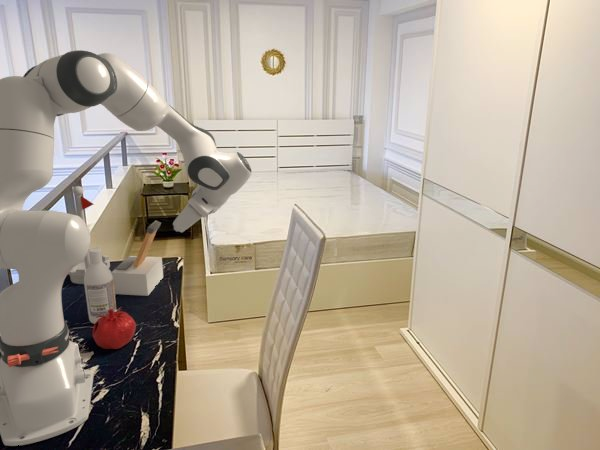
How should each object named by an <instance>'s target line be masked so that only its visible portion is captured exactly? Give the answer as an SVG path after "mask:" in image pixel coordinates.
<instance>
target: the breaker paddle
mask: <svg viewBox="0 0 600 450" xmlns="http://www.w3.org/2000/svg"><path fill="white" fill-rule="evenodd" d="M161 224H162V222H160V221H158V220H154V222H152V223H151V224H149V226H147V228H146V231H145V232H146V233H145V236H144V238H143V241H142V244H141V246H140V249H139V250H138V254H137V255H136V256H137V258H136V261H135V263H134V265H133V266H134V267H136V268H137V267H138V266H139V265H140V264H141V263H142V262H143V261H144V260H145V258H146V257H148V256H147V255H148V254H149V251H150V248H151V245H152V244H153V240H155V239H154V238H155V236H156V233H157V231H158V229H160V227H161Z"/></svg>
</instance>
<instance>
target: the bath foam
mask: <svg viewBox="0 0 600 450" xmlns="http://www.w3.org/2000/svg"><path fill="white" fill-rule="evenodd" d="M102 256H103V255H102V249H101V248H100V247H92V248H89V259H90V264H89V266H88V268H87V270H86V272H85V275H84V284H83V287H84V293H85V294H84V295H85V300H86V306H87V315H88V320H89V322H90V323H91V324H95V323H96V322H97V320H98V319H99V318H102V317H98V316H99V315H102V316H106V315H108V310H110V309H113V312H116V311H118V309H117V304H116V303H117V302H116V294H115V293H114V284H113V277H112V273H111V272H112V271H111V270H110V267H109V268H108V267H107V266H106V265H105V264H104V263H103V262H102ZM96 317H98V318H96Z"/></svg>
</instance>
